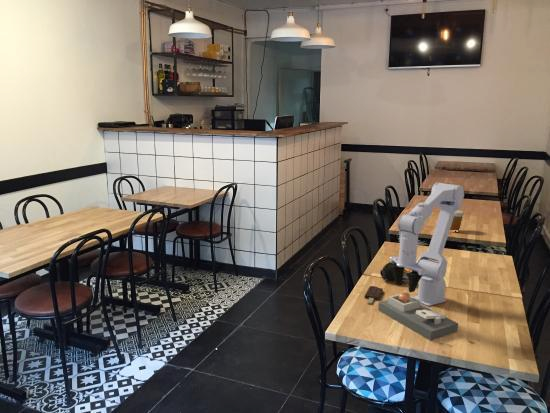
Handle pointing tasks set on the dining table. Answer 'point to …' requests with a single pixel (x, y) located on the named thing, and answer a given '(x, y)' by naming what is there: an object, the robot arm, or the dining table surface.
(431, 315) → the rocker switch
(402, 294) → the button
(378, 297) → the ice cream bar
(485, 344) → the dining table surface
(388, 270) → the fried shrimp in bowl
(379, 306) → the grey board with tray
